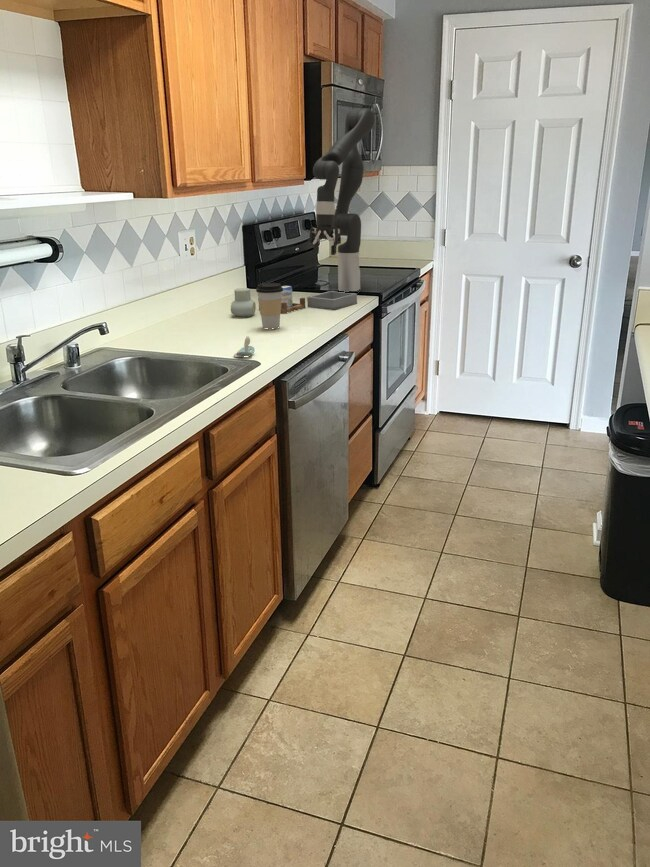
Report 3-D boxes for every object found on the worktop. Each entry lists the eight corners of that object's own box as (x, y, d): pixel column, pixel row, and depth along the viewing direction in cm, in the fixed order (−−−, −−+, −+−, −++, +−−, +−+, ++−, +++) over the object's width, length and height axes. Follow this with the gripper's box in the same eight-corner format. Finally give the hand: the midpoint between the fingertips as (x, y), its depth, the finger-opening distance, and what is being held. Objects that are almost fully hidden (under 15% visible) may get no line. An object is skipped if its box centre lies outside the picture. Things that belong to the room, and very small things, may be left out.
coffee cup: (252, 327, 251) (250, 284, 246) (274, 323, 257) (272, 281, 251) (268, 332, 244) (266, 287, 239) (290, 327, 250) (288, 284, 245)
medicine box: (280, 311, 277) (279, 289, 274) (271, 310, 280) (270, 288, 277) (293, 308, 283) (292, 286, 280) (284, 307, 286) (283, 285, 283)
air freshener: (252, 318, 266) (250, 291, 263) (230, 318, 267) (228, 291, 263) (256, 312, 276) (255, 286, 273) (235, 312, 277) (233, 286, 273)
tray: (330, 300, 297) (330, 290, 295) (357, 303, 289) (356, 293, 288) (307, 307, 285) (307, 297, 283) (334, 310, 277) (333, 300, 276)
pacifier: (231, 359, 212) (251, 359, 211) (229, 339, 210) (249, 338, 209) (236, 353, 219) (256, 353, 218) (234, 333, 217) (254, 333, 216)
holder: (280, 304, 290) (279, 295, 289) (305, 308, 283) (305, 297, 281) (259, 310, 280) (258, 300, 279) (284, 313, 273) (284, 303, 272)
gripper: (345, 213, 289) (344, 254, 294) (316, 212, 297) (316, 253, 302) (334, 213, 283) (333, 255, 288) (305, 212, 291) (305, 253, 296)
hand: (324, 254), depth 295 cm, fingers open, 8 cm apart
